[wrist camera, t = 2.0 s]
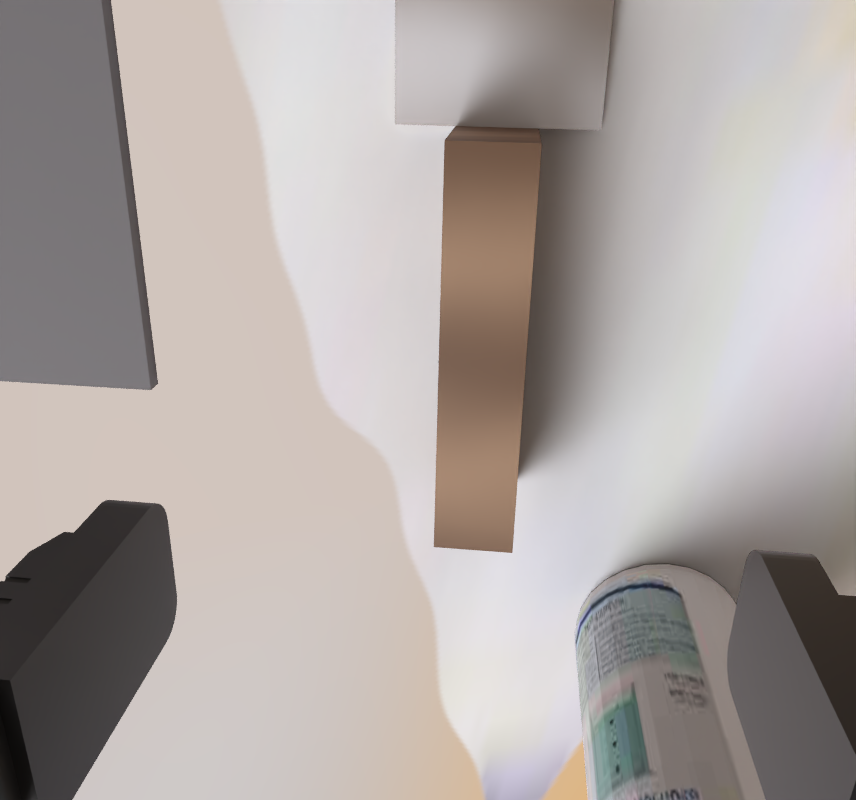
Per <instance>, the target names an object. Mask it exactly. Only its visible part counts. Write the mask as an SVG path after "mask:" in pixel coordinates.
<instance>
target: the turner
mask: <svg viewBox="0 0 856 800" xmlns="http://www.w3.org/2000/svg"><path fill="white" fill-rule="evenodd" d="M613 9H614V0H395V124H404V125H437V126H456V127H455V128H454V129H453V130H452V132H451V133H450V134H449V136H448V137H447V138H446V139H445V150H444V188H443V226H442V264H441V301H440V339H439V377H438V415H437V452H436V490H435V528H434V547H442V548H455V549H469V550H482V551H495V552H509V553H512V548H513V534H514V521H515V507H516V493H517V479H518V465H519V452H520V438H521V424H522V410H523V396H524V383H525V369H526V355H527V341H528V327H529V313H530V300H531V286H532V272H533V258H534V244H535V231H536V217H537V203H538V189H539V175H540V162H541V148H542V142H541V138H540V133H539V129H571V130H601V129H602V119H603V109H604V99H605V89H606V79H607V69H608V59H609V49H610V39H611V29H612V19H613Z"/></svg>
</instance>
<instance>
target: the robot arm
mask: <svg viewBox="0 0 856 800" xmlns="http://www.w3.org/2000/svg"><path fill="white" fill-rule="evenodd" d="M176 606H177V593H176V585H175V577H174V568H173V561H172V552H171V544H170V536H169V527H168V520H167V515H166V512H165V510H164V508H163V507H162V506H161V505H160V504H155V503H141V502H129V501H115V500H107V501H104V502H102V503H101V504H100V505H99V506H98V507H97V508H96V509H95V511H94V512H93V513H92V514H91V515H90V516H89V517H88V518H87V519H86V520H85V521H84V522H83V523H82V525H81V526H80V527H79V528H78V529H77V530H76V531H75V532H74V533H70V532H63V533H62V534H60V535H58V536H56V537H55V538H53V539H51V540H50V541H48V542H46V543H44V544H42V545H41V546H39V547H37V548H36V549H34V550H32V551H30V552H29V553H28V554H27V555H26V556H25V557H24V558H23V559H22V560H21V561H20V562H19V563H18V564H17V565H16V566H15V567H14V568H13V569H12V571H10V573H8V574H7V576H6V579H5V581H1V582H0V800H72V799H73V798H74V796H75V794H76V792H77V791H78V789H79V787H80V786H81V784H82V782H83V781H84V779H85V777H86V776H87V774H88V772H89V771H90V769H91V767H92V766H93V764H94V762H95V761H96V759H97V757H98V756H99V754H100V752H101V750H102V749H103V747H104V746H105V744H106V742H107V741H108V739H109V737H110V735H111V734H112V732H113V731H114V729H115V727H116V726H117V724H118V722H119V721H120V719H121V717H122V716H123V714H124V712H125V711H126V709H127V707H128V705H129V704H130V702H131V700H132V699H133V697H134V695H135V694H136V692H137V690H138V689H139V687H140V685H141V684H142V682H143V680H144V679H145V677H146V675H147V673H148V672H149V670H150V669H151V667H152V665H153V664H154V662H155V660H156V659H157V657H158V655H159V654H160V652H161V650H162V649H163V647H164V645H165V644H166V642H167V640H168V638H169V636H170V633H171V631H172V628H173V624H174V620H175V615H176ZM727 672H728V681H729V687H730V691H731V695H732V698H733V701H734V704H735V707H736V710H737V713H738V717H739V720H740V723H741V726H742V729H743V732H744V735H745V738H746V741H747V744H748V747H749V750H750V753H751V756H752V759H753V763H754V766H755V769H756V772H757V775H758V778H759V781H760V784H761V787H762V790H763V793H764V796H765V799H766V800H856V596H845V595H838V593H837V591H836V590H835V588H834V586H833V585H832V583H831V581H830V579H829V578H828V576H827V574H826V572H825V571H824V569H823V567H822V566H821V564H820V562H819V561H818V559H817V558H816V557H815V556H814V555H812V554H800V553H787V552H773V551H760V550H753V551H751V553H750V554H749V556H748V557H747V560H746V563H745V567H744V572H743V577H742V582H741V586H740V591H739V596H738V601H737V605H736V610H735V615H734V620H733V624H732V629H731V634H730V638H729V644H728V652H727Z"/></svg>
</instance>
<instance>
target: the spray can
mask: <svg viewBox="0 0 856 800" xmlns="http://www.w3.org/2000/svg"><path fill="white" fill-rule="evenodd" d="M735 610H736V603H735V602H734V600H733V599H732V598H731V596H730V595H729V594H728V593H727V591H726V590H725V588H723V587H722V586H721V585H719V584H718V583H717V582H716V581H714V580H713V579H712V578H710V577H709V576H707V575H705V574H702V573H700V572H698V571H695V570H693V569H691V568H687V567H682V566H676V565H671V564H655V565H643V566H639V567H635V568H631V569H627V570H624V571H622V572H620V573H618V574H616V575H614V576H612V577H610V578H608V579H606V580H605V581H604V582H603V583H601V584H600V585H599V586H598V587H597V588H596V589H595V590H593V591H592V592H591V593H590V595H589V596H588V598H587V599H586V601H585V603H584V604H583V606H582V607H581V609H580V613H579V617H578V620H577V624H576V629H575V648H576V659H577V671H578V683H579V696H580V708H581V720H582V732H583V745H584V756H585V769H586V781H587V792H588V800H766V799H765V796H764V793H763V790H762V787H761V784H760V781H759V778H758V775H757V772H756V769H755V766H754V763H753V759H752V756H751V753H750V750H749V747H748V744H747V741H746V738H745V735H744V732H743V729H742V726H741V723H740V720H739V717H738V713H737V710H736V707H735V704H734V701H733V698H732V695H731V691H730V687H729V681H728V672H727V652H728V644H729V638H730V634H731V629H732V624H733V620H734V615H735Z"/></svg>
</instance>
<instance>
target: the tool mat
mask: <svg viewBox="0 0 856 800" xmlns="http://www.w3.org/2000/svg"><path fill="white" fill-rule="evenodd" d="M0 381H9V382H10V381H11V382H27V383H43V384H59V385H76V386H93V387H110V388H126V389H143V390H151V389H152V388H154V387H155V386H156V385H157V384H158V380H157V372H156V364H155V356H154V348H153V340H152V331H151V324H150V315H149V307H148V299H147V291H146V283H145V275H144V266H143V258H142V250H141V242H140V234H139V226H138V218H137V210H136V201H135V194H134V185H133V177H132V169H131V161H130V153H129V144H128V137H127V128H126V120H125V112H124V104H123V97H122V89H121V79H120V71H119V63H118V55H117V47H116V39H115V31H114V23H113V15H112V6H111V0H0Z"/></svg>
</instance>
